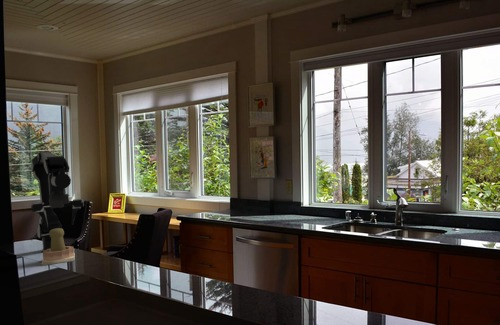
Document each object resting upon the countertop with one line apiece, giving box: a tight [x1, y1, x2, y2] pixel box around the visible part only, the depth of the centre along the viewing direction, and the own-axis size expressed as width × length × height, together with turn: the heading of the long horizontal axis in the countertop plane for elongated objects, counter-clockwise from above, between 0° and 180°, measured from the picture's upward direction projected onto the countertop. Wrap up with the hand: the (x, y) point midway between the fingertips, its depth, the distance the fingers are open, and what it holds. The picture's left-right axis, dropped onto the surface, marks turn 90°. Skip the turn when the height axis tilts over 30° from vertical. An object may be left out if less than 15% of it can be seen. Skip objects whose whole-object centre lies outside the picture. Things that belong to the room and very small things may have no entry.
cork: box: [48, 227, 66, 252], centre depth 164 cm, size 6×6×11 cm
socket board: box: [41, 245, 76, 266], centre depth 164 cm, size 11×11×4 cm
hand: (60, 226), depth 169 cm, fingers open, 9 cm apart
